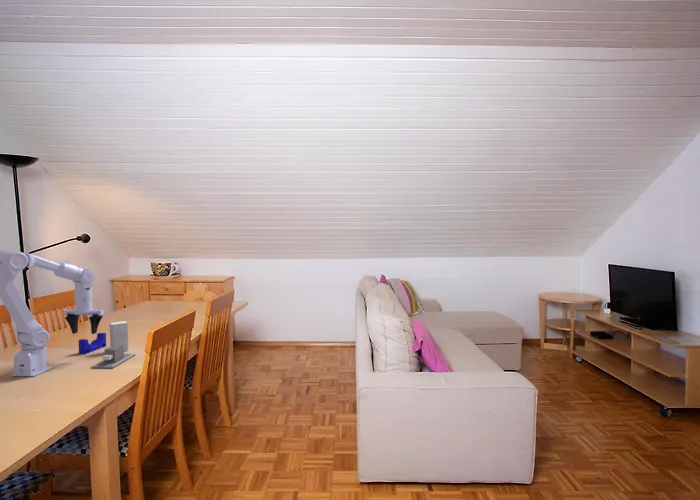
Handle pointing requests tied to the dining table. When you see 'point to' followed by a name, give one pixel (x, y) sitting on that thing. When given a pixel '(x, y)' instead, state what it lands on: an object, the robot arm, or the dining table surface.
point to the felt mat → (112, 365)
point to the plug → (113, 353)
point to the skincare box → (119, 334)
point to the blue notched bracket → (92, 344)
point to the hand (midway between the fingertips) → (84, 333)
